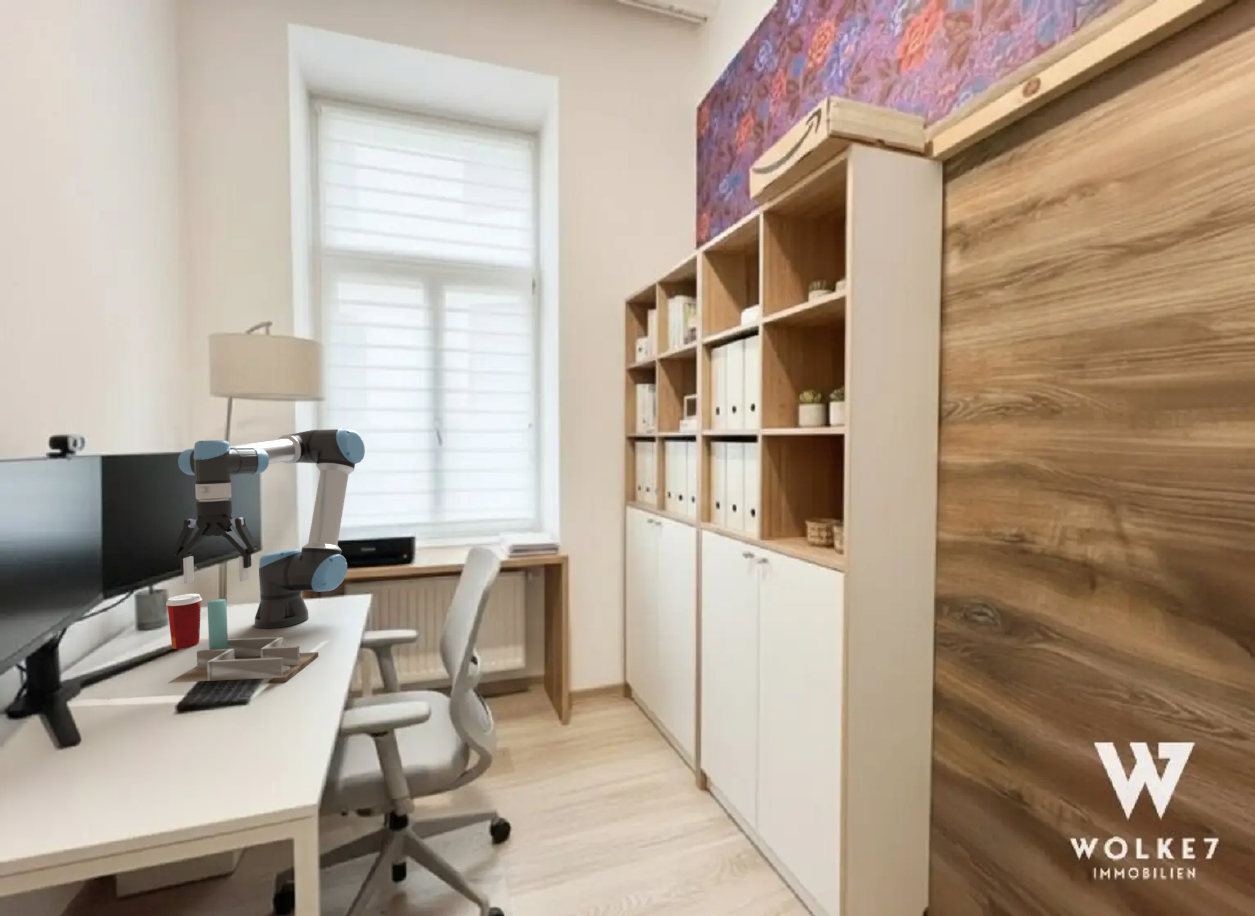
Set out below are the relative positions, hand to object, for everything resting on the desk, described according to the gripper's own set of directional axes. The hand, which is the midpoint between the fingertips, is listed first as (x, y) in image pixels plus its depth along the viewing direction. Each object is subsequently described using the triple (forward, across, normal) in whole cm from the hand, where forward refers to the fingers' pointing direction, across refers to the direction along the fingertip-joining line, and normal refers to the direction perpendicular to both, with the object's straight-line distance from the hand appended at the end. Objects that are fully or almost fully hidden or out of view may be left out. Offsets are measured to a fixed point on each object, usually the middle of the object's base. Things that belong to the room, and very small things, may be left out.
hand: (216, 581), depth 150 cm
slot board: (+22, +9, -4) cm, 25 cm away
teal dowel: (+21, 0, 0) cm, 21 cm away
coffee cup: (+23, -18, +15) cm, 33 cm away
